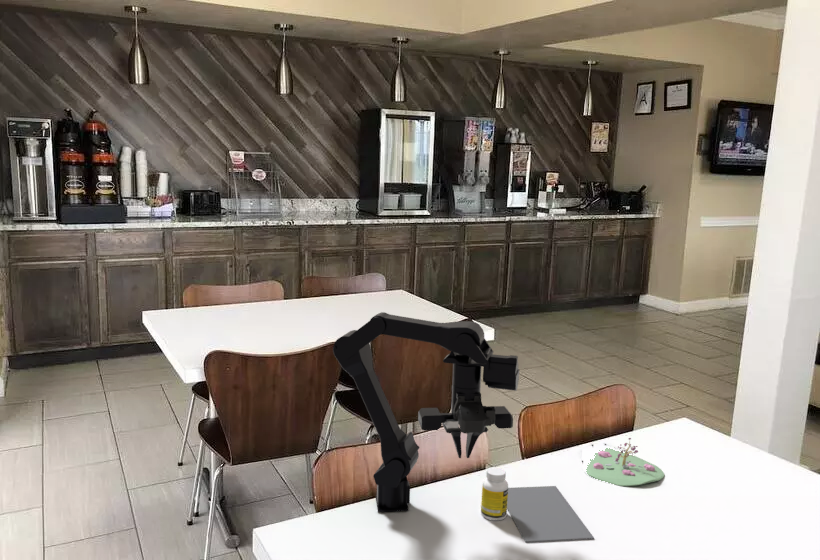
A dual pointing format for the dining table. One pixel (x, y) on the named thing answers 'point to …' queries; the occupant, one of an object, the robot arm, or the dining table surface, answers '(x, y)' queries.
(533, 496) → the mat
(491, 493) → the supplement bottle
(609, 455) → the plant
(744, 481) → the dining table surface
